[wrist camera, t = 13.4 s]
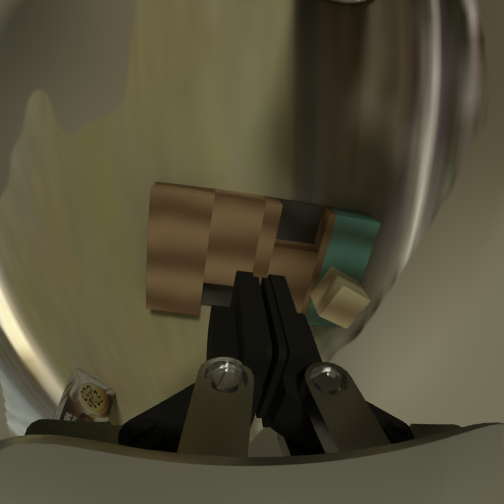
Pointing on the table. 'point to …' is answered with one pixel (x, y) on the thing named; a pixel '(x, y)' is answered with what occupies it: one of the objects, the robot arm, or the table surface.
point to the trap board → (246, 246)
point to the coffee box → (85, 400)
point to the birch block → (339, 298)
